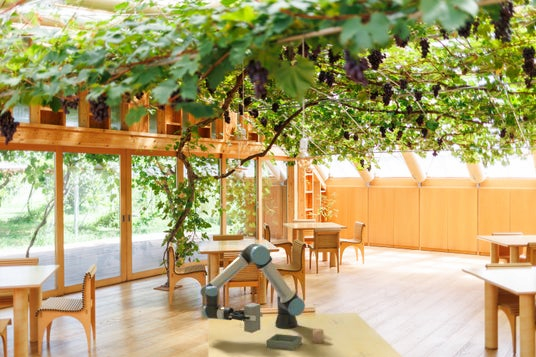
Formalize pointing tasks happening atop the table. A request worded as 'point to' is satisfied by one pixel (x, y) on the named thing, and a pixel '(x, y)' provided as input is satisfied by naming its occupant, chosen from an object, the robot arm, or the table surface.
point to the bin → (284, 341)
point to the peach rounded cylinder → (318, 336)
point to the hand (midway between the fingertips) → (258, 316)
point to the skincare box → (252, 310)
